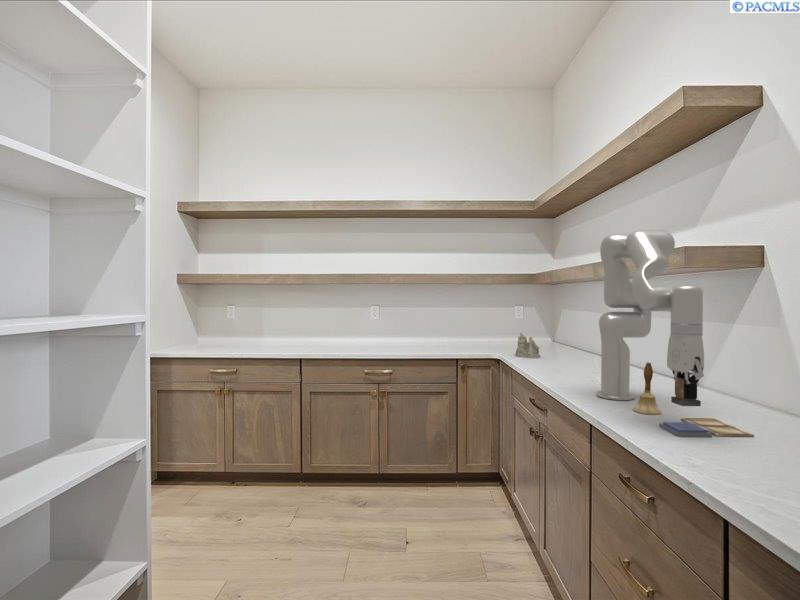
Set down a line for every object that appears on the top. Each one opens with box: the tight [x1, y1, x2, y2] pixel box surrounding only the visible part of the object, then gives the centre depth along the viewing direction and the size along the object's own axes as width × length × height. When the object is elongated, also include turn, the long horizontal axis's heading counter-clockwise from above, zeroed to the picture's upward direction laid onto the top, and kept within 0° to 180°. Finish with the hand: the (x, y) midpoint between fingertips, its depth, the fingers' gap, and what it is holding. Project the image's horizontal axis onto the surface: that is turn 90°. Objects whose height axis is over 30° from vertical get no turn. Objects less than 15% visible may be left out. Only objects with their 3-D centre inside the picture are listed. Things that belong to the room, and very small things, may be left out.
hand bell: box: [632, 362, 663, 416], centre depth 149 cm, size 8×8×16 cm
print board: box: [680, 417, 755, 438], centre depth 131 cm, size 16×10×1 cm, turn 179°
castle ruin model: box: [515, 332, 541, 359], centre depth 282 cm, size 16×16×15 cm
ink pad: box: [659, 421, 713, 438], centre depth 127 cm, size 9×9×2 cm
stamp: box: [670, 378, 702, 407], centre depth 127 cm, size 5×5×7 cm
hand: (685, 396), depth 127 cm, fingers closed on stamp, 3 cm apart
